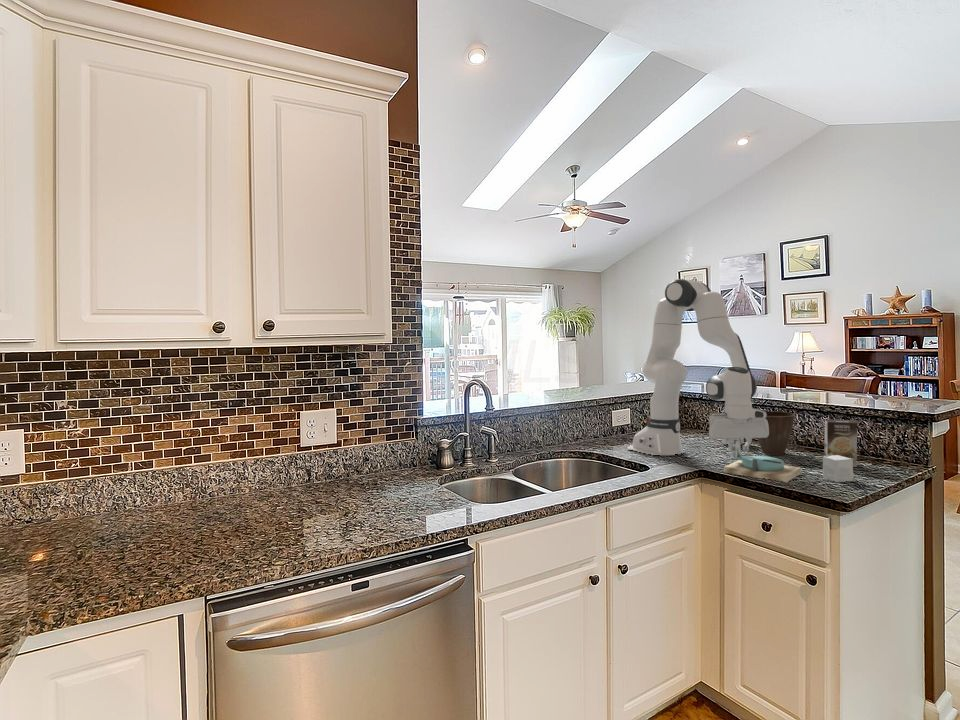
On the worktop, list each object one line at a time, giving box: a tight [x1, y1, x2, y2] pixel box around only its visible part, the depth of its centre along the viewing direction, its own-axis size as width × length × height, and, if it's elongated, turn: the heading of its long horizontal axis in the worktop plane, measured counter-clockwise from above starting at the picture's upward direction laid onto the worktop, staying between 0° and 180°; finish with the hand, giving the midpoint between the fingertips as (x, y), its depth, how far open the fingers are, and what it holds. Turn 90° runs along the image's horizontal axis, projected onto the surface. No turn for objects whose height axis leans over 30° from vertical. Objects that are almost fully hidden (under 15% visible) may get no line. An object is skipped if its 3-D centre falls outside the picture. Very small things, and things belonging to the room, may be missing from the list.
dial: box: [732, 439, 785, 471], centre depth 189 cm, size 17×13×8 cm
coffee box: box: [823, 418, 858, 467], centre depth 194 cm, size 9×6×16 cm
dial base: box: [723, 459, 802, 483], centre depth 188 cm, size 20×14×6 cm
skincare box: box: [822, 455, 854, 483], centre depth 177 cm, size 6×6×7 cm
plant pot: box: [757, 410, 795, 456], centre depth 215 cm, size 15×15×16 cm
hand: (738, 450), depth 195 cm, fingers open, 3 cm apart
